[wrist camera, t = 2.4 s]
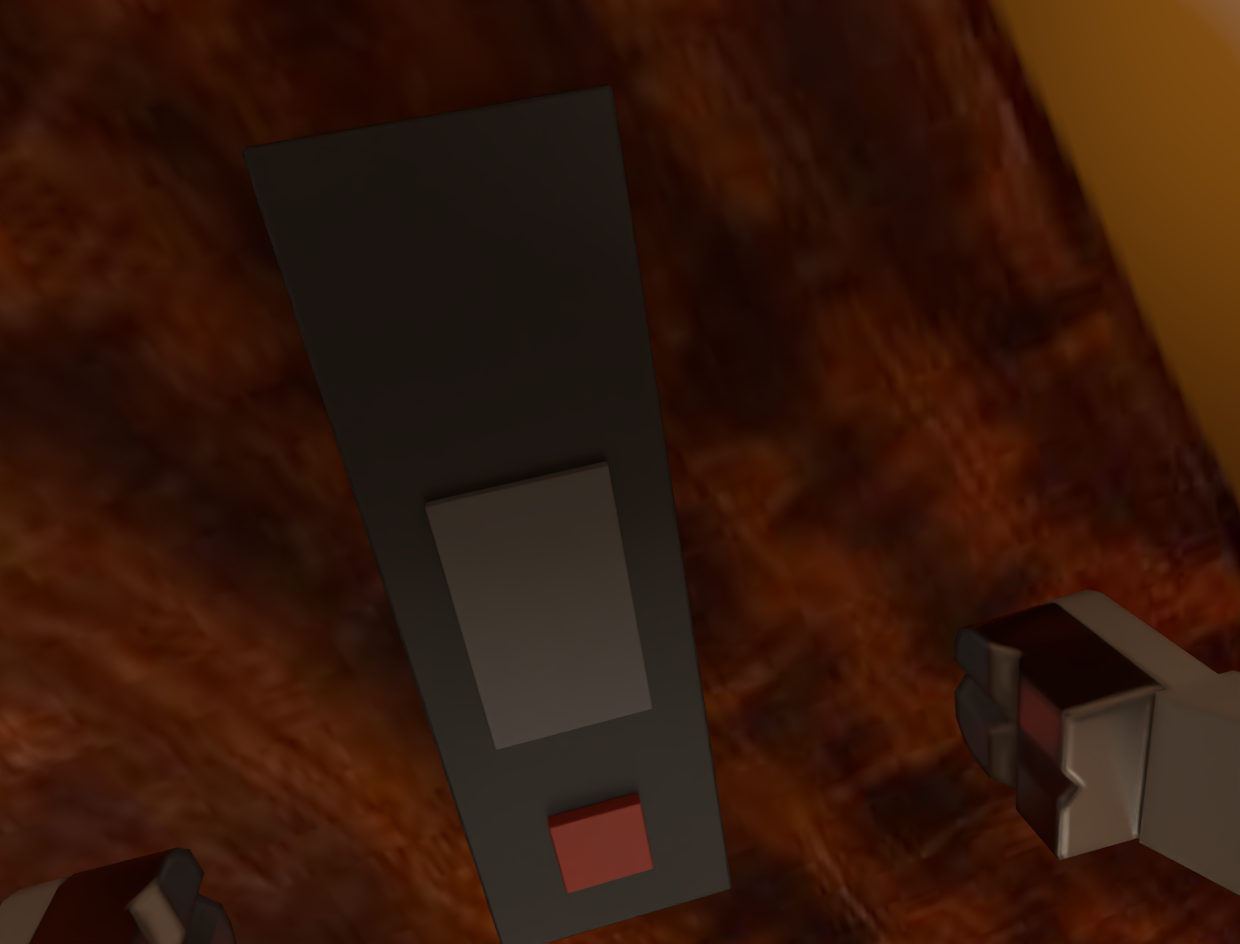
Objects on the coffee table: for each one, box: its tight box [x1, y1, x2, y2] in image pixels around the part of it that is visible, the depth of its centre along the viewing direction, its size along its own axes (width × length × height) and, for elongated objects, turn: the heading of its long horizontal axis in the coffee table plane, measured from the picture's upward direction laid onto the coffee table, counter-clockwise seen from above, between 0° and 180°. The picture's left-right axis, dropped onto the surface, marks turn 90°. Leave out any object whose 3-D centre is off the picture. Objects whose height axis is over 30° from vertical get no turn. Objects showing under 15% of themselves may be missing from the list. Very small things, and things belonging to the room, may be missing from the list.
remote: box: [243, 84, 731, 944], centre depth 13 cm, size 14×4×3 cm, turn 9°
